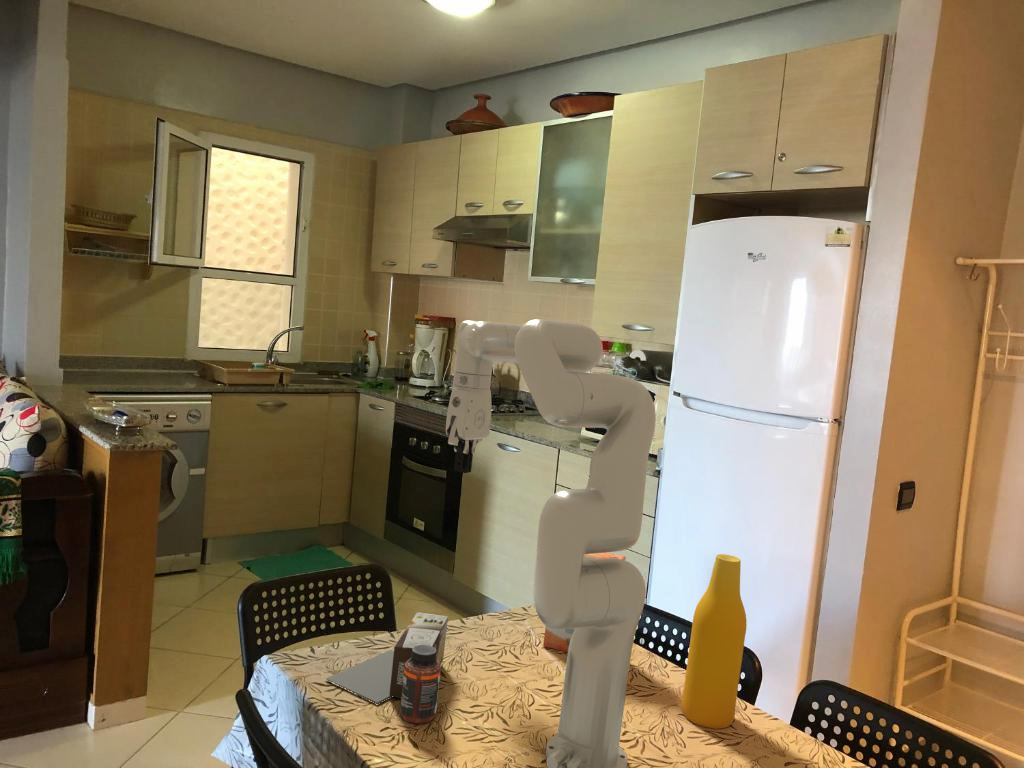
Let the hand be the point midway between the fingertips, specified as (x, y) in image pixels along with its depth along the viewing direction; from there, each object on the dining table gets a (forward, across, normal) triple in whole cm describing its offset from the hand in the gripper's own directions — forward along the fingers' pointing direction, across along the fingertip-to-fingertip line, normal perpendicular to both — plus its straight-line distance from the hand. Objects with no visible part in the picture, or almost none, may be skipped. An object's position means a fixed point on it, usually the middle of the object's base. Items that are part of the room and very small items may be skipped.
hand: (462, 471), depth 160 cm
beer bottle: (+35, +5, -54) cm, 64 cm away
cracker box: (+35, +14, -24) cm, 44 cm away
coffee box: (+30, -13, -5) cm, 33 cm away
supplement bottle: (+35, -30, -16) cm, 49 cm away
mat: (+34, -23, -3) cm, 42 cm away
